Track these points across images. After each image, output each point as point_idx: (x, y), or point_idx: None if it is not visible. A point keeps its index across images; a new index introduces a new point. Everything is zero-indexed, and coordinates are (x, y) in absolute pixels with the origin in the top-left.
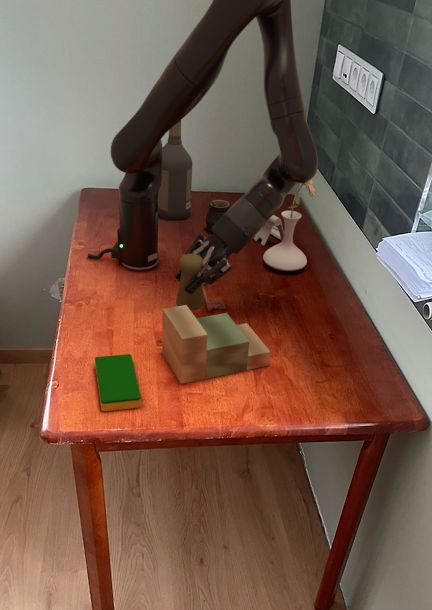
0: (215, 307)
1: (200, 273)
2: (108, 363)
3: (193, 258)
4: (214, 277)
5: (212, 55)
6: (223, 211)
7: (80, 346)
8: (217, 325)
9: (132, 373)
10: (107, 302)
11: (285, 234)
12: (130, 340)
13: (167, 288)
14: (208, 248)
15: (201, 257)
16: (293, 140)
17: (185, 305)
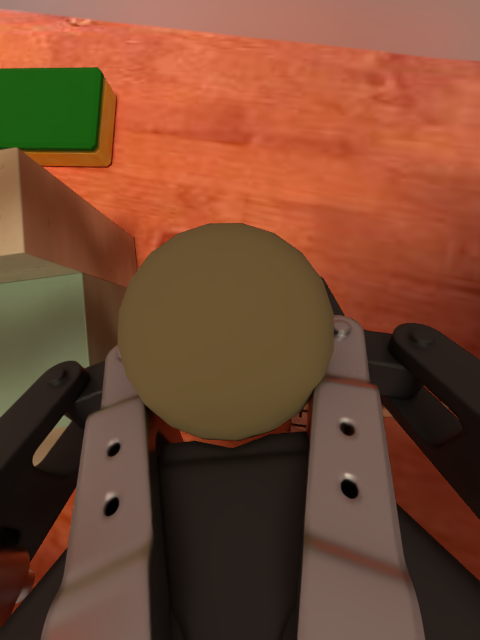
0: (293, 418)
1: (111, 363)
2: (68, 93)
3: (172, 333)
4: (72, 448)
5: None
6: None
7: (196, 71)
8: (25, 366)
9: (20, 139)
10: (377, 146)
11: None
12: (196, 178)
13: (429, 314)
14: (287, 617)
15: (226, 433)
16: None
17: (20, 247)
